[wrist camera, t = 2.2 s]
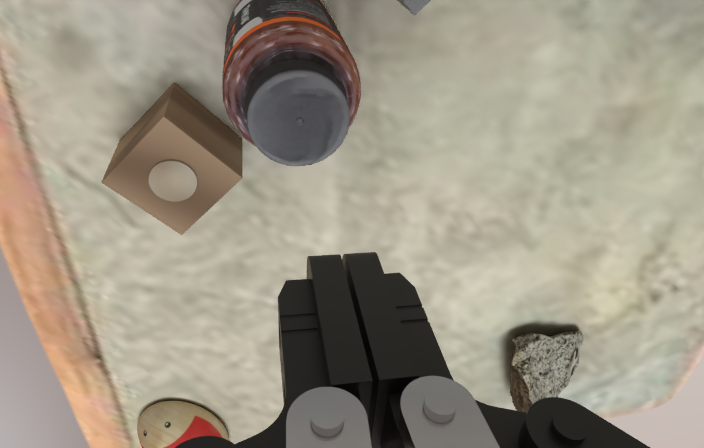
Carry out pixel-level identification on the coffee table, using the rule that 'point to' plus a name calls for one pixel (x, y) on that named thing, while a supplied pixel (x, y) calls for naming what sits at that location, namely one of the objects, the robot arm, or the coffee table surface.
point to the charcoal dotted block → (413, 5)
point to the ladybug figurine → (176, 424)
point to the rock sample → (542, 366)
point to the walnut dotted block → (176, 160)
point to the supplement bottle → (289, 79)
